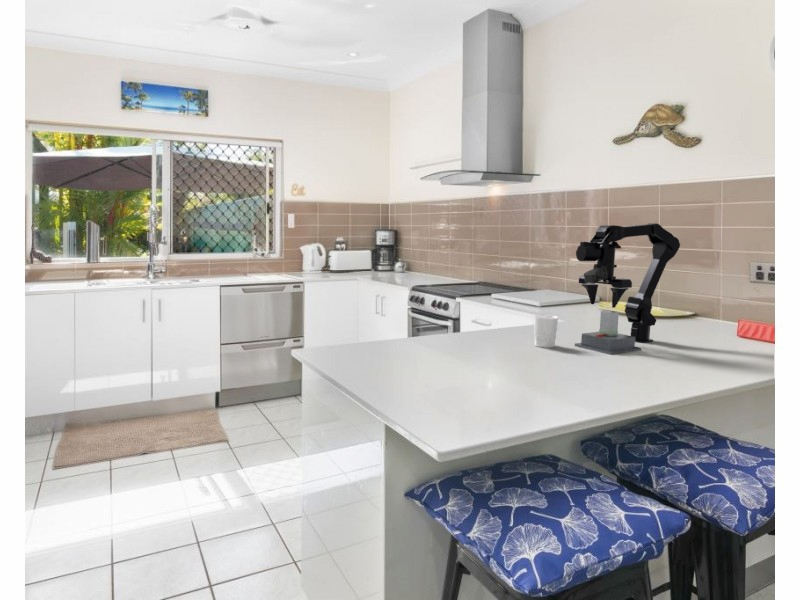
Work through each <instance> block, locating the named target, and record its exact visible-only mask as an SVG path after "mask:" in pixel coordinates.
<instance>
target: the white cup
mask: <svg viewBox="0 0 800 600" xmlns="http://www.w3.org/2000/svg"><path fill="white" fill-rule="evenodd" d="M558 320H559V317H558V316H556V315H547V314H546V315H544V314H539V315H538V314H537V315H534V316H533V334H534V335H533V338H534V346H536V347H538V348H544V349H545V348H547V349H551V348H554V347H556V339H557V331H558V322H559V321H558Z"/></svg>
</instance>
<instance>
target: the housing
mask: <svg viewBox="0 0 800 600" xmlns="http://www.w3.org/2000/svg"><path fill="white" fill-rule="evenodd" d="M580 340H581V342H577V343H574V347H578V348H582V349H585V350H591V351H595V352H598V353H602V354H607V355H610V356H611V355H616V354H625V353H632V352H639V351H642V347H638V346H635V345H636V341H635V337H633V336H631V335H627V334H623V333H619V332H618V333H617V336H610V337H608V336H604V334H599V331H595V332H592V331H591V332H585V333H581V339H580Z"/></svg>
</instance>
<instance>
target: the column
mask: <svg viewBox="0 0 800 600" xmlns="http://www.w3.org/2000/svg"><path fill="white" fill-rule="evenodd" d="M619 314H620V313H619V311H615V310H601V311H600V316H599V317H600V319H599V329H598V332H599V334H604V336H608V337H610V336H617V333H618V334H619V329H618V328H619Z"/></svg>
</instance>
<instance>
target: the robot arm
mask: <svg viewBox="0 0 800 600" xmlns="http://www.w3.org/2000/svg"><path fill="white" fill-rule="evenodd" d="M595 231H596V232H595V233H594V235H593V236H592V237H591V239H590V240H589V241H580V243H579V244H580V245H578V247H577V248H576V251H575V256H576V259H577V261H579V262H596V263H594V264H593V268H592V269H590V270H588V271H586V272H584V273H583V275H580V276H579V277H578V284H581V287H584V288H585V290H586V292H587V295H588V297H589V298H588V299H589V302H590V304H591V305H595V303H596V297H597V293H598V289H599V284H603V285H608V286H611V287H610V291H611V293H612V297H611V298H612V299H611V308H614V309H615V308H616V307H617V305H618V304H619V302H620V300H621V298H622V297H623V295H624V293H626V291H627V290H629V288H632V287H633V281H632V280H631V279H629V278H617V276H615V275H614V274H615V272H614V271H615V268H617V267H618V265H617V264H615V259H616V249H617V250H619V249H622V246H621V245H620V244H619V243H618V241H621V240H624V239H625V238H631V237H640V236H641V237H643V236H647V238H648V241H649V242H650V243H651V244H652V248H651V249H652V250H651V252H652V259H651V262H650V264H649V266H648V268H647V271H646V273H645V275H644V277H643V280H642V282H641V284H640V287H639V289H638V292H637V293H636V294H635V295H634V296H629V297H628V298H627V301H626V304H625V305H624V313H625V316H626V317H627V321H628V323H631V328H630V336H633V337H635V342H639V343H647V342H648V343H649V342H653V341H654V339H652V338H650V335H651V327H652V326H655V325H656V323H657V318H656V317H655V316H654V315H653V313H652V309H653V303H652V298H653V296H654V293H655V291H656V289H657V286H658V284H659V282H660V279H661V277H662V275H663V273H664V270H665V268H666V266H667V264H668V262H669V261H670V260H672V259H673V258H674V257H675V256H676V254H677V252H678V251H679V249H680V247H681V242H680V240H679V238H678V237H677V236H674V234H672V233H671V232H670V231H668V230H666V229H665V228H663V226H662V225H661V224H659V223H656V222H655V223H652V222H651V223H647V224H646V223H645V224H639V225H638V224H637V225H636V224H635V225H628V226H625V225H624V226H623V225H615V224H614V225H613V224H612V225H611V224H610V225H609V224H605V225H604V224H603V225H602V224H601V225H599V226H598V227H597V229H596V230H595Z"/></svg>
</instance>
